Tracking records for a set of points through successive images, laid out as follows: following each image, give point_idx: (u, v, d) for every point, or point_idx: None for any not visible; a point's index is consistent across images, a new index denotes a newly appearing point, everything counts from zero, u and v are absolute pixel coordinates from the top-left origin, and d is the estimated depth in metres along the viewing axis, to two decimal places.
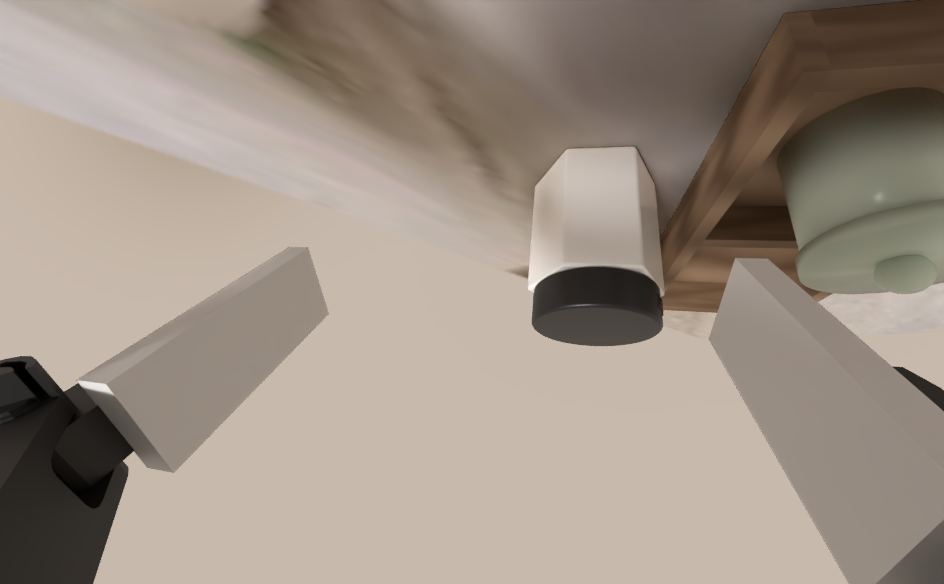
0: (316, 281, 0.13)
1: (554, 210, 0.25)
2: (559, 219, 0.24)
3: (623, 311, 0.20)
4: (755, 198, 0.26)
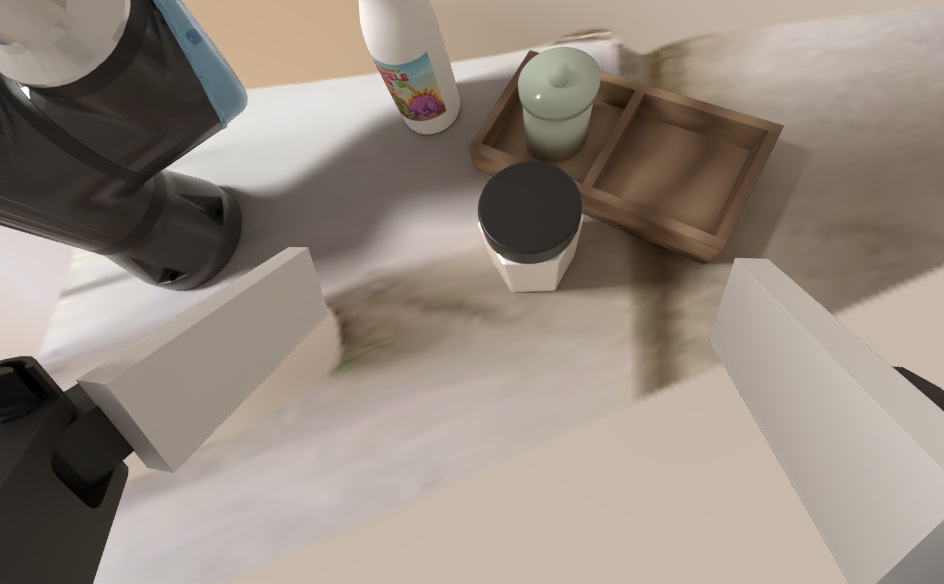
0: (316, 281, 0.13)
1: (491, 253, 0.36)
2: (486, 243, 0.35)
3: (498, 177, 0.29)
4: (585, 170, 0.40)
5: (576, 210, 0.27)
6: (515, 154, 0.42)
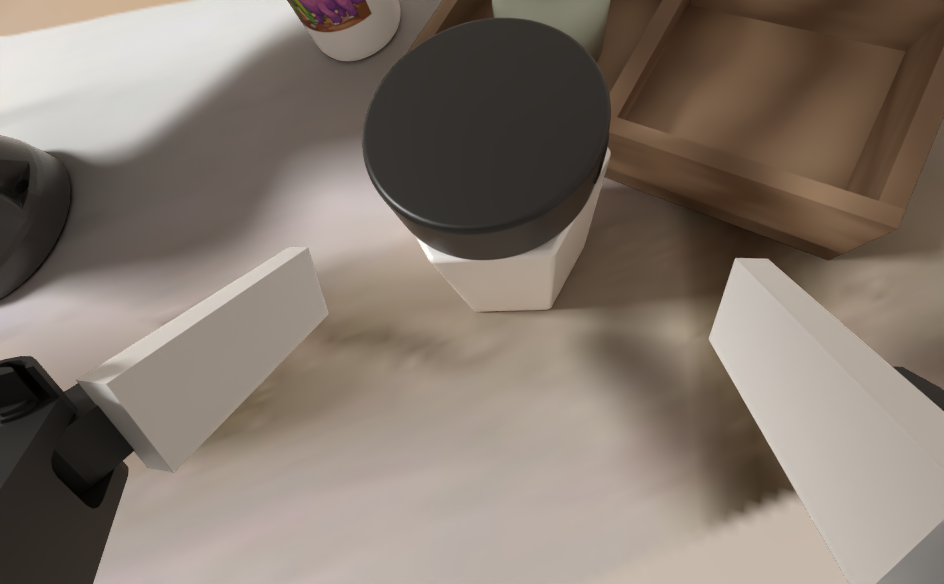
0: (316, 281, 0.13)
1: None
2: None
3: (411, 58, 0.13)
4: None
5: (597, 120, 0.11)
6: None
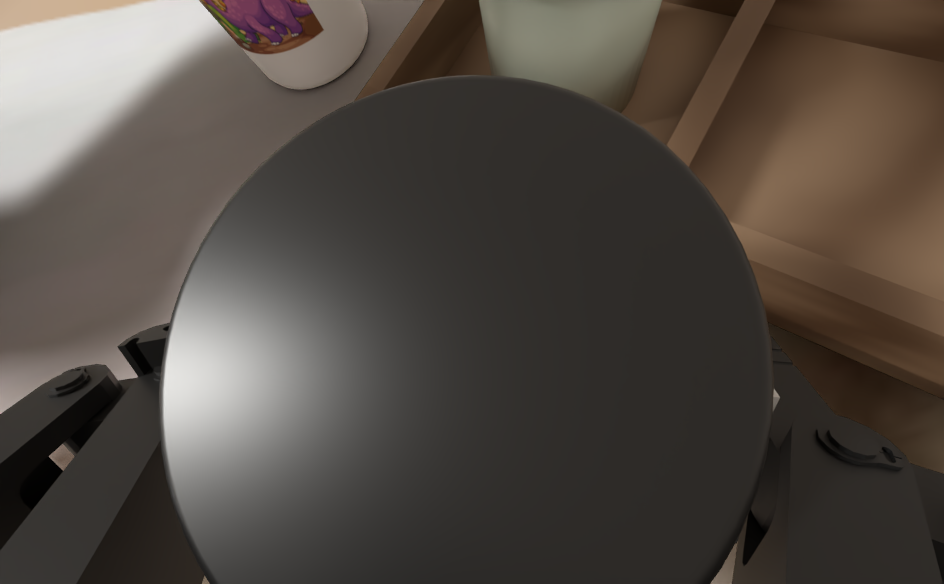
0: None
1: None
2: None
3: (286, 161, 0.06)
4: None
5: (742, 388, 0.04)
6: None
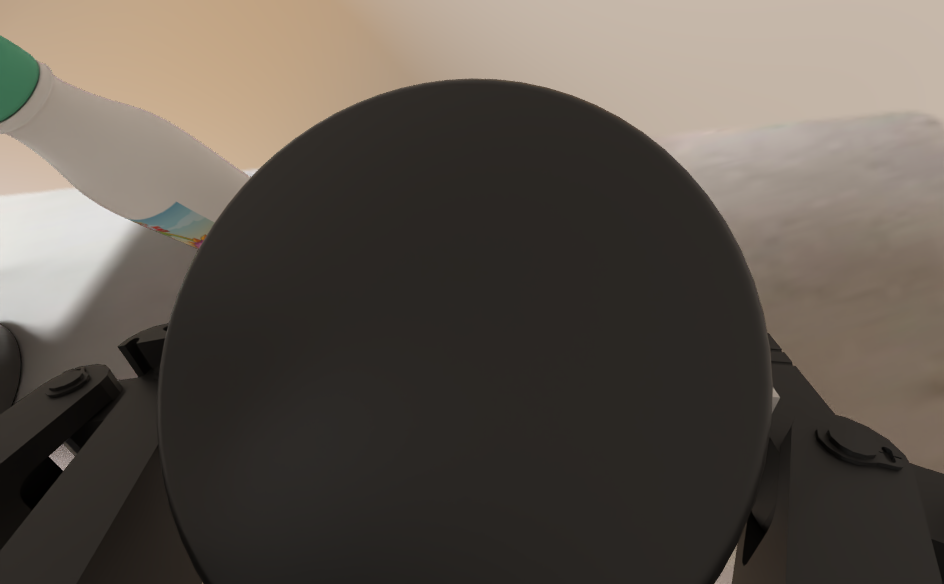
0: None
1: None
2: None
3: (284, 165, 0.06)
4: None
5: (741, 395, 0.04)
6: None
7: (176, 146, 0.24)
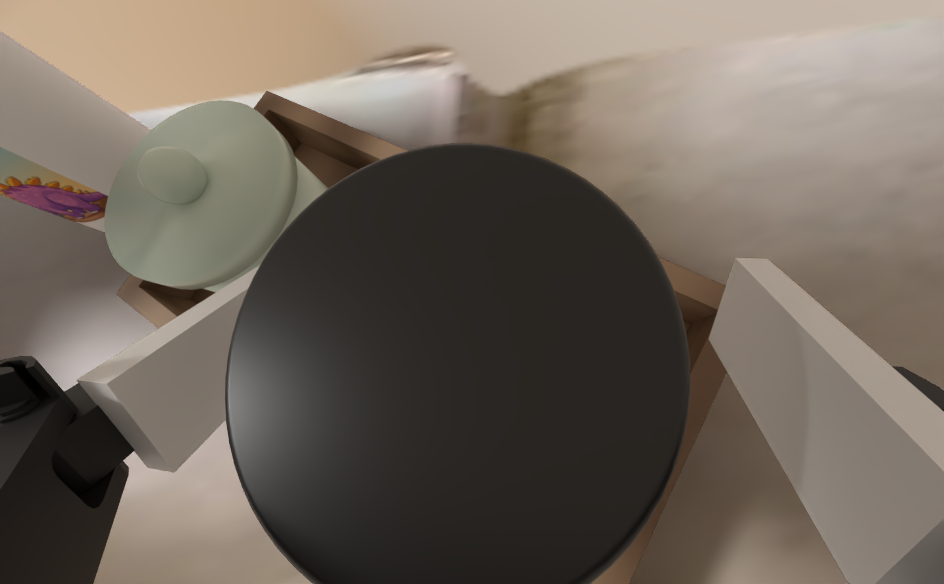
0: None
1: None
2: None
3: (319, 212, 0.07)
4: None
5: (666, 393, 0.05)
6: None
7: None
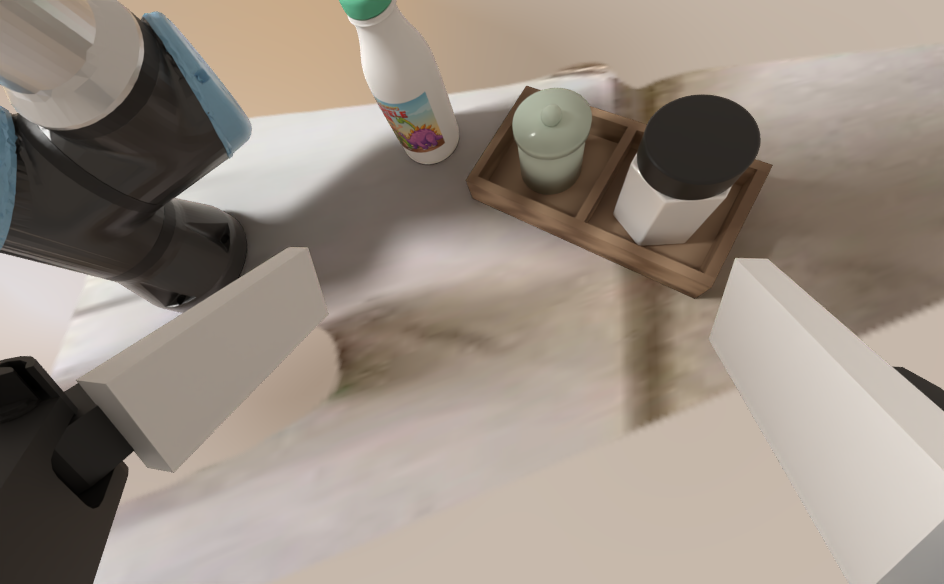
0: (316, 281, 0.13)
1: (627, 202, 0.35)
2: (625, 190, 0.34)
3: (663, 111, 0.29)
4: (579, 202, 0.41)
5: (755, 139, 0.27)
6: (511, 186, 0.43)
7: (430, 52, 0.37)
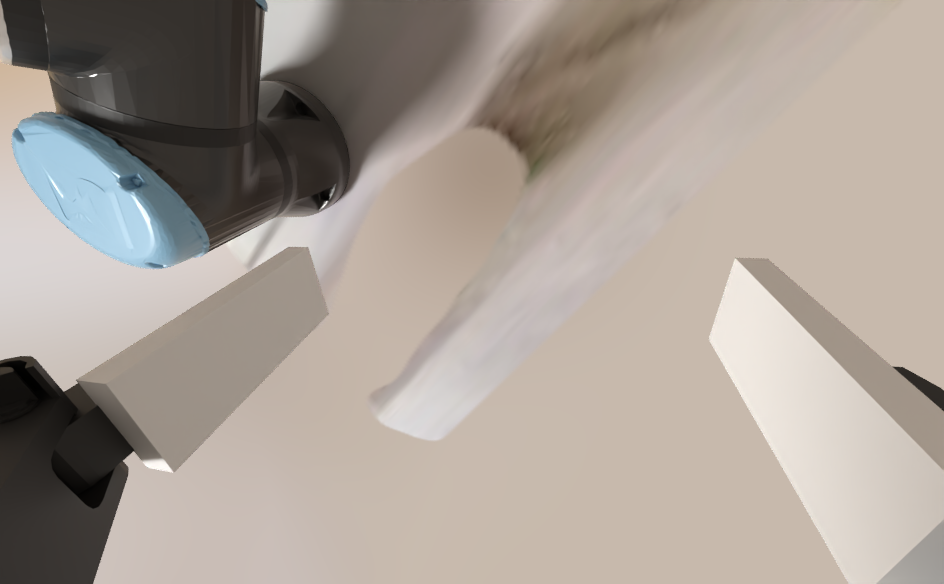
0: (316, 281, 0.13)
1: None
2: None
3: None
4: None
5: None
6: None
7: None
